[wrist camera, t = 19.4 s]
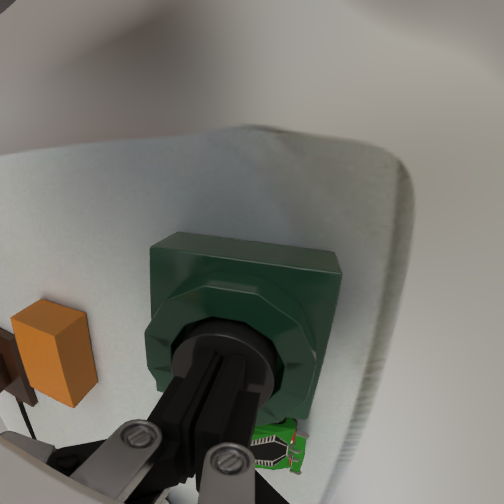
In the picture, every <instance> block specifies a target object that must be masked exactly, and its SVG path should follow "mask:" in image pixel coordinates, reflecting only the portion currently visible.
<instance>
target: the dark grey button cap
mask: <svg viewBox="0 0 504 504" xmlns="http://www.w3.org/2000/svg"><path fill="white" fill-rule="evenodd" d="M202 348H206V349H211V350H216V351H217V355H221V356H222V363H223V361H224V358H225V356H227V357H230V356H231V354H238V355H243V356H247V360H246V369H245V379H244V388H243V390H245V391H250V392H256V393H260V401H259V407H258V409H259V408H260V407H262V406H263V405H264V404H265V403H266V402H267V401H268V400H269V398H270V397H271V394H272V392H273V388H274V383H275V377H276V371H277V364H278V357H279V354H278V352H277V350H276V348H275V346H274V344H273V342H272V340H270V339H269V338H267V337H266V336H264V335H263V334H261V333H260V332H258V331H257V330H256V329H254V328H253V327H251V326H250V325H248V324H247V323H245V322H242V321H236V320H230V319H224V318H219V317H213V316H212V317H209V318H206V319H203V320H200V321H197V322H195V323H194V325H193V326H192V327H191V329H190V330H189V332H188V333H187V335H186V336H185V338H184V339H183V340H182V342H181V343H180V345H179V346H178V348H177V349H176V351H175V353H174V355H173V358H172V363H171V369H172V375H173V378H174V377H175V376H178V377H182V378H185V376H186V374H187V373H188V371H189V369H190V367H191V366H192V364H193V362H194V361H195V359H196V357H197V355H198V354H199V352H200V350H201V349H202Z"/></svg>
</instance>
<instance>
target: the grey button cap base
mask: <svg viewBox="0 0 504 504" xmlns="http://www.w3.org/2000/svg"><path fill="white" fill-rule="evenodd" d="M341 280H342V271H341V268H340V265H339V262H338V260H337V257H336V254H335V252H331V251H324V250H316V249H309V248H301V247H294V246H286V245H279V244H271V243H263V242H255V241H248V240H240V239H232V238H224V237H216V236H208V235H200V234H192V233H184V232H176V233H174V234H172V235H171V236H169V237H167V238H165V239H163V240H161V241H160V242H158V243H156V244H154V245H152V246H151V247H150V294H151V319H152V320H151V322H150V324H149V325H148V327H147V328H146V330H145V346H146V357H147V367H148V369H149V371H150V372H151V374H152V375H153V377H154V378H155V380H156V385H157V391H159V392H163V393H164V392H165V390H166V389H167V387H168V385H169V384H170V382H171V381H172V379H173V375H172V369H171V363H172V358H173V355H174V353H175V351H176V349H177V348H178V346H179V345H180V343H181V342H182V340H183V339H184V338H185V336H186V335H187V333H188V332H189V330H190V329H191V327H192V326H193V325H194V323H195V322H197V321H200V320H203V319H206V318H209V317H212V316H213V317H219V318H224V319H230V320H236V321H242V322H245V323H247V324H248V325H250V326H251V327H253V328H254V329H256V330H257V331H258V332H260V333H261V334H263V335H264V336H266V337H267V338H269V339H270V340H272V342H273V344H274V346H275V348H276V350H277V352H278V354H279V357H278V364H277V371H276V377H275V383H274V388H273V392H272V394H271V397H270V398H269V400H268V401H267V402H266V403H265V404H264V405H263V406H262V407H260V408H259V409H258V413H257V418H256V423H255V426H260V425H265V424H270V423H275V422H279V421H281V420H282V419H283V418H285V417H289V418H297V419H307V418H308V415H309V412H310V409H311V405H312V402H313V398H314V395H315V391H316V387H317V384H318V380H319V376H320V372H321V368H322V365H323V361H324V357H325V353H326V349H327V344H328V340H329V336H330V332H331V327H332V323H333V318H334V314H335V309H336V304H337V300H338V295H339V290H340V285H341Z"/></svg>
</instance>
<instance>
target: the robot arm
mask: <svg viewBox="0 0 504 504" xmlns="http://www.w3.org/2000/svg"><path fill="white" fill-rule="evenodd" d="M246 360H247V356H243V355H238V354H231V356H230V357H227V356H225V358H224V361H223V363H222V356H221V355H217V351H216V350H211V349H206V348H202V349H201V350H200V352H199V354H198V355H197V357H196V359H195V361H194V362H193V364H192V366H191V367H190V369H189V371H188V373H187V374H186V376H185V378H182V377H178V376H175V377H174V378H173V379H172V381H171V382H170V384H169V385H168V387H167V389H166V390H165V392H164V393H163V395H162V397H161V398H160V400H159V401H158V403H157V405H156V406H155V408H154V409H153V411H152V413H151V414H150V416H149V417H148V419H147V420H141V419H136V420H130V421H127V422H125V423H124V424H122V425H121V426H120V427H119V428H118V429H117V430H116V431H115V432H114V433H113V434H112V435H111V436H110V437H109V438H108V439H105V440H100V441H96V442H91V443H85V444H80V445H74V446H69V447H63V448H60V449H56V448H55V446H54V445H51V444H47V443H44V442H41V441H38V440H35V439H33V438H30V437H27V436H24V435H22V434H19V433H16V432H13V431H6V432H3V433H1V434H0V504H161V503H162V502H163V500H164V499H165V497H166V496H167V495H168V493H169V491H170V487H173V486H176V485H178V484H179V483H183V484H185V483H186V480H187V478H188V477H190V478H193V477H194V474H195V475H196V490H197V491H198V493H199V497H198V504H289V503H288V502H287V501H286V500H285V499H284V498H283V497H282V496H281V495H280V494H279V493H278V492H277V491H276V490H275V489H274V488H273V487H272V486H271V485H270V484H269V483H268V482H267V481H266V480H265V479H264V478H263V477H262V476H261V475H260V474H259V473H258V472H257V471H256V470H255V459H254V455H253V454H252V452H251V451H250V450H249V449H250V445H251V441H252V437H253V432H254V428H255V423H256V418H257V413H258V407H259V401H260V393H256V392H250V391H245V390H243V388H244V379H245V369H246Z"/></svg>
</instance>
